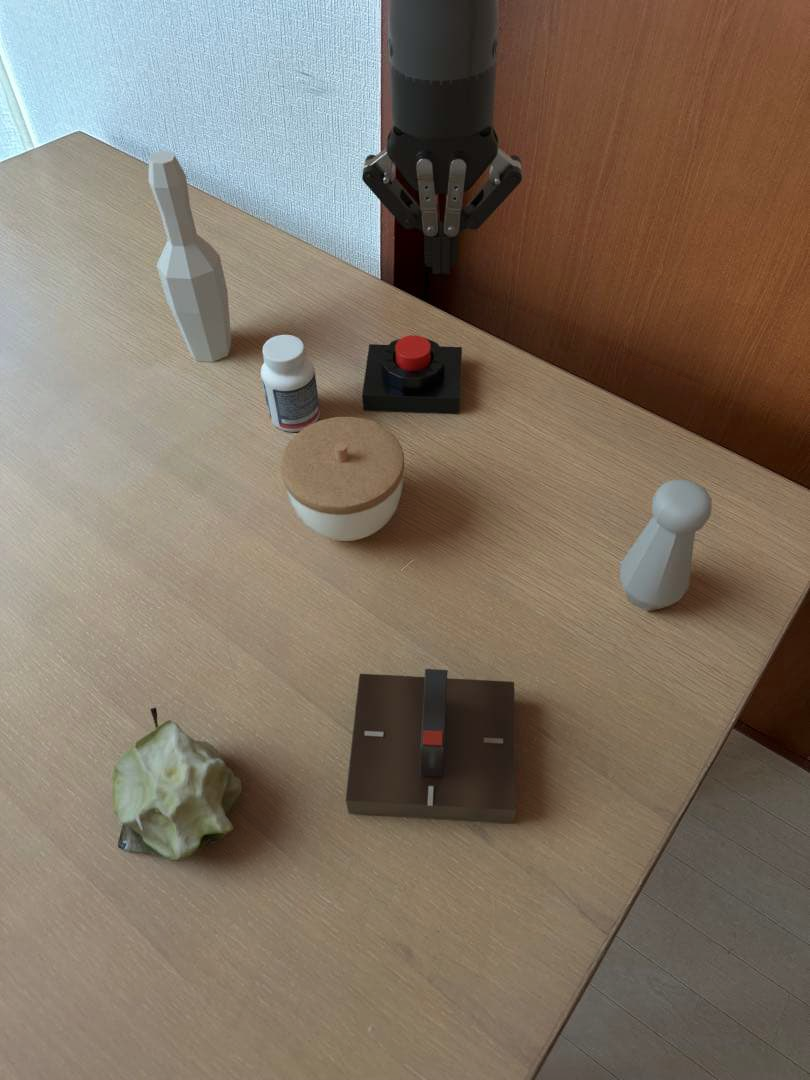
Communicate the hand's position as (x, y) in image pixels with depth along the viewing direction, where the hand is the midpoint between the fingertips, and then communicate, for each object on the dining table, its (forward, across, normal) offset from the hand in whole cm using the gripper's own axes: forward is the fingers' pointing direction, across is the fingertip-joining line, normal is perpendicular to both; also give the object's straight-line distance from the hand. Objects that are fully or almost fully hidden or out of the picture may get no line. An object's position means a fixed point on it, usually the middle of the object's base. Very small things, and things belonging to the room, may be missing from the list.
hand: (441, 268), depth 72 cm
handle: (+15, -1, +36) cm, 39 cm away
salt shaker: (+18, -19, +20) cm, 33 cm away
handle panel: (+18, -1, +36) cm, 41 cm away
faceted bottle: (+17, +26, -10) cm, 33 cm away
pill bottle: (+18, +15, 0) cm, 23 cm away
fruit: (+18, +17, +41) cm, 48 cm away
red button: (+14, +3, -5) cm, 15 cm away
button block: (+18, +3, -5) cm, 18 cm away
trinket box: (+18, +8, +13) cm, 24 cm away
